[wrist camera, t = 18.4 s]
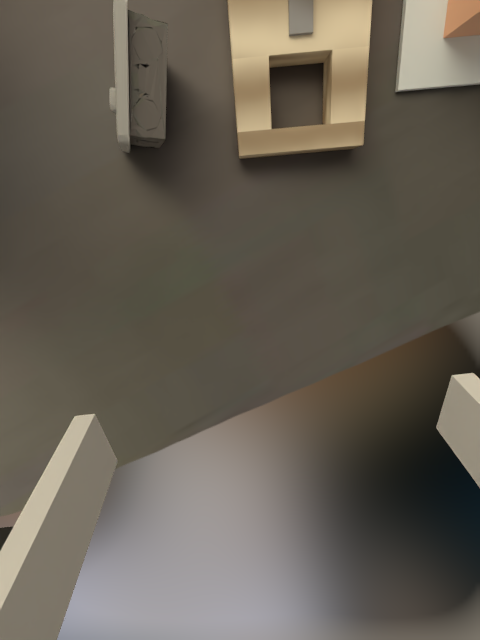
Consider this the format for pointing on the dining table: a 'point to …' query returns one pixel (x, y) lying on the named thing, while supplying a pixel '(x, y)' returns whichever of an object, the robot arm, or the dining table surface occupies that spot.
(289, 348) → the dining table surface
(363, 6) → the socket block
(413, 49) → the mat
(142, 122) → the electrical switch
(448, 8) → the plug
